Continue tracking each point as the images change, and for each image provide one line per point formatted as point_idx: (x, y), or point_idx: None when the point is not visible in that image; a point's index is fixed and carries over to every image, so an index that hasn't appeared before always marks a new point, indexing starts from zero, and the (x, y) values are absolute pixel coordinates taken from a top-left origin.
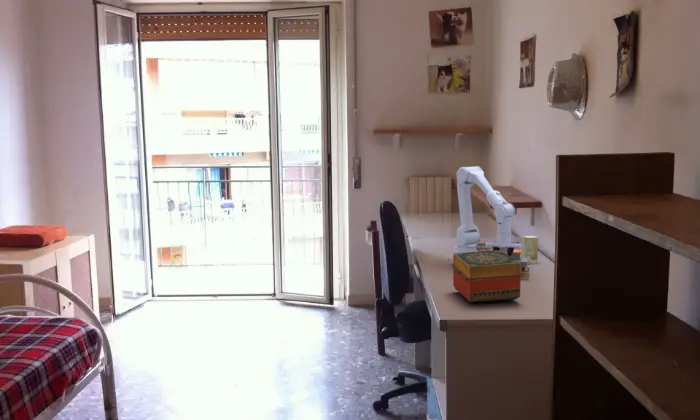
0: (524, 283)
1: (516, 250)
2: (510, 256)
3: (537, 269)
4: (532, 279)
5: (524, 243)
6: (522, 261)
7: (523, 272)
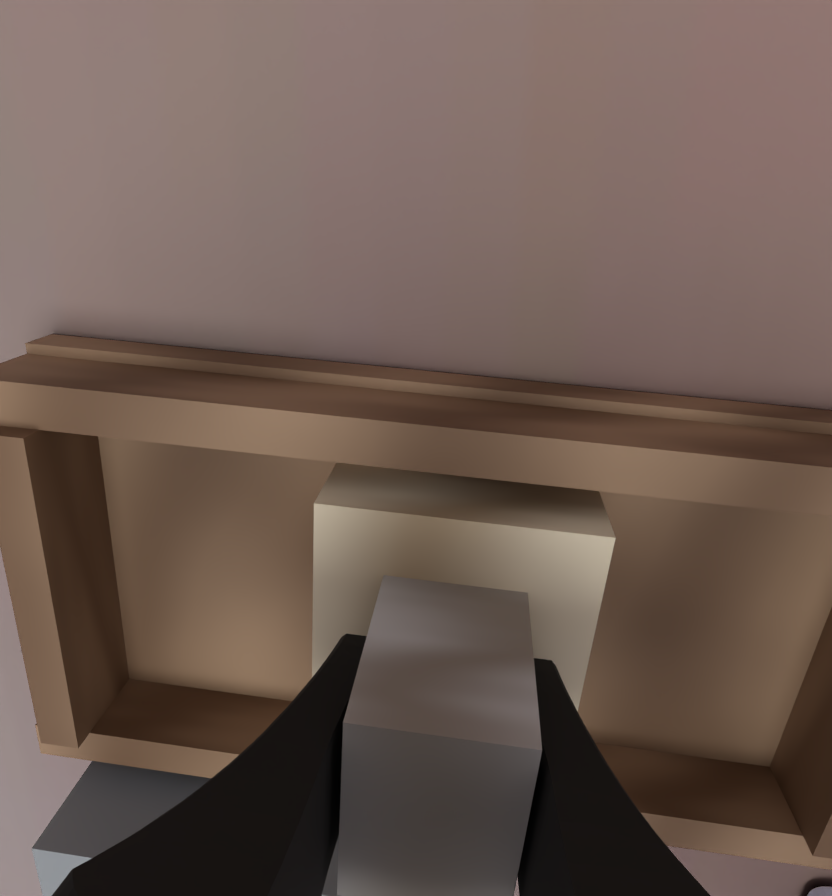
0: (78, 78)
1: None
2: (219, 775)
3: None
4: None
5: None
6: None
7: (58, 385)
